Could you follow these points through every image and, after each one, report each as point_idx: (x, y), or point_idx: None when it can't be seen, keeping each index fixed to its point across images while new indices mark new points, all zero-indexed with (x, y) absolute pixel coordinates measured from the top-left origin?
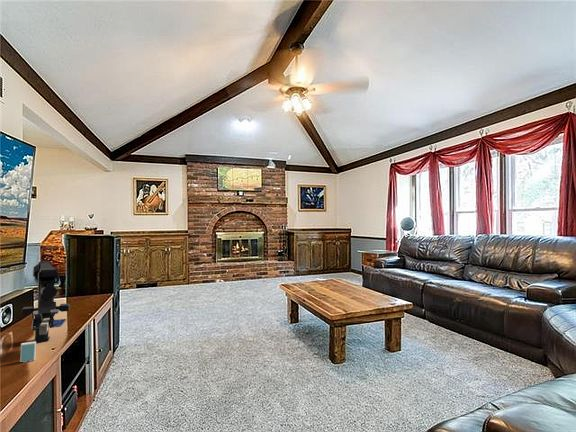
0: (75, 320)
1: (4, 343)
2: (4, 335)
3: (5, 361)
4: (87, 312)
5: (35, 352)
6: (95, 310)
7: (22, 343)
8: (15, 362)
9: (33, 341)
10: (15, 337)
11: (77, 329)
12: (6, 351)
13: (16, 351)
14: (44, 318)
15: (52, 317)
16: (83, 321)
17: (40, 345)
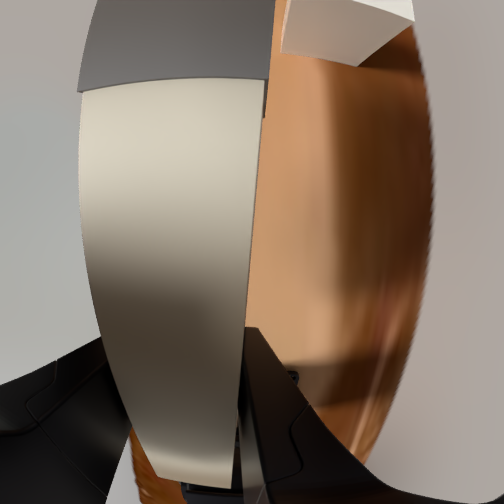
0: (168, 482)
1: (392, 403)
2: (367, 458)
3: (428, 125)
4: (155, 498)
5: (284, 32)
6: (140, 497)
7: (408, 10)
8: (382, 68)
9: (295, 382)
10: (346, 443)
11: (131, 428)
12: (415, 303)
13: (381, 278)
14: (223, 486)
15: (15, 385)
16: (140, 469)
17: (260, 320)
